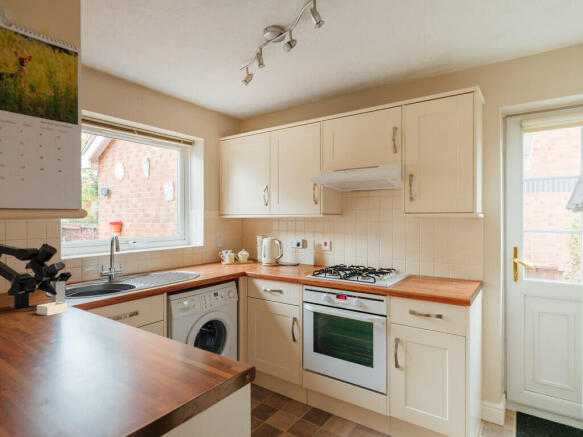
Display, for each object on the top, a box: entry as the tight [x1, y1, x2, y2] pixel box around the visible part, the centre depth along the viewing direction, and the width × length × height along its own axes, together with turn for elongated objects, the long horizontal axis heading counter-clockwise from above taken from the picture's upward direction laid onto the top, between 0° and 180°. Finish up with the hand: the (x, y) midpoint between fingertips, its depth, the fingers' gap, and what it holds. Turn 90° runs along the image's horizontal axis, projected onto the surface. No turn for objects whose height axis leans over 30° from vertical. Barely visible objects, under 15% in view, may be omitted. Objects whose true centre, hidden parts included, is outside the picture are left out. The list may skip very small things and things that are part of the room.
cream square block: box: [36, 302, 69, 316], centre depth 143 cm, size 8×8×4 cm
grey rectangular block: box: [51, 281, 66, 303], centre depth 152 cm, size 4×4×12 cm
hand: (61, 293), depth 152 cm, fingers closed on grey rectangular block, 5 cm apart
